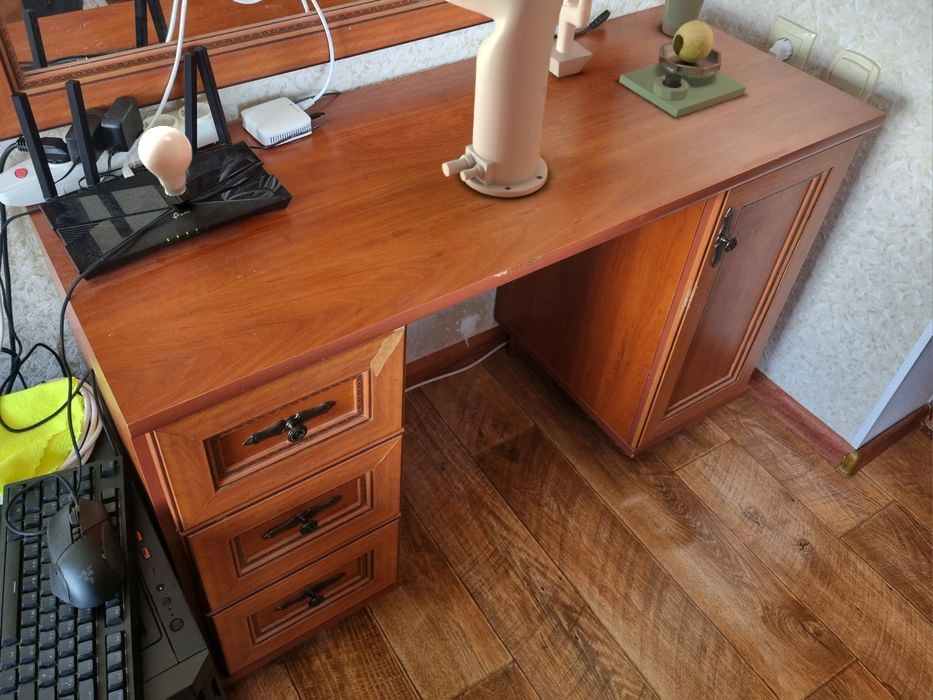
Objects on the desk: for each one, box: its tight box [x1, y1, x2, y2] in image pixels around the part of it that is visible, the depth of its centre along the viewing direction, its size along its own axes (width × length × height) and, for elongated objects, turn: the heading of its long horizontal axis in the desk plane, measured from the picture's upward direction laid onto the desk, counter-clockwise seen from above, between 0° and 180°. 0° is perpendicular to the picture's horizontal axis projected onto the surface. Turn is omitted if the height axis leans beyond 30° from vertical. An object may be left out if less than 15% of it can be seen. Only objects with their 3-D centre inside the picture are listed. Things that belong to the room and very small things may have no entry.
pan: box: [658, 41, 722, 78], centre depth 134 cm, size 10×10×2 cm
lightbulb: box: [138, 125, 193, 196], centre depth 102 cm, size 6×6×11 cm
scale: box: [618, 62, 747, 118], centre depth 134 cm, size 16×14×3 cm
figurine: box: [549, 0, 594, 78], centre depth 132 cm, size 7×9×15 cm
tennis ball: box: [672, 19, 715, 63], centre depth 132 cm, size 6×7×7 cm
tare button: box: [664, 73, 681, 88], centre depth 129 cm, size 3×3×2 cm
